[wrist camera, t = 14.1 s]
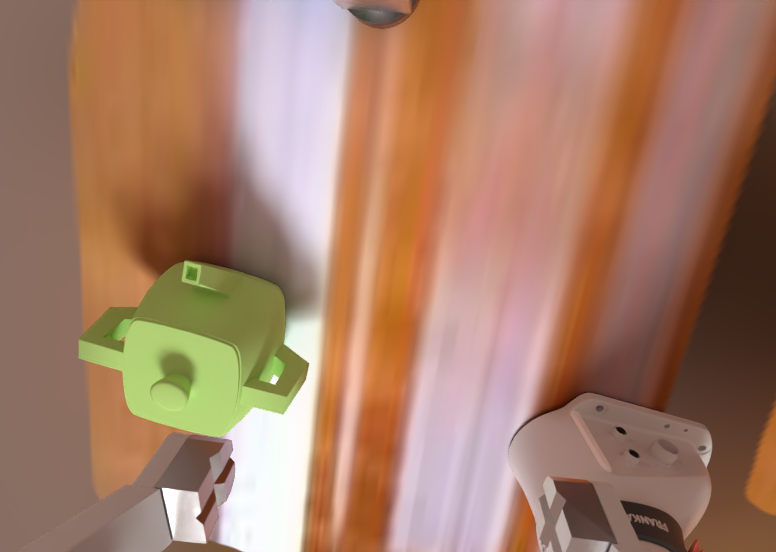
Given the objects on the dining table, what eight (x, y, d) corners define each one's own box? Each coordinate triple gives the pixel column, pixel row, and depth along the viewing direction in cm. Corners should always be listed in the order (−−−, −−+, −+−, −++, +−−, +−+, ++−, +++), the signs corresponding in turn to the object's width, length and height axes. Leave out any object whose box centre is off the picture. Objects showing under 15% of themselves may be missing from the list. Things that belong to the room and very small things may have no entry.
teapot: (146, 195, 41) (35, 241, 30) (342, 253, 42) (311, 320, 31) (140, 344, 49) (51, 427, 37) (306, 390, 50) (271, 486, 38)
